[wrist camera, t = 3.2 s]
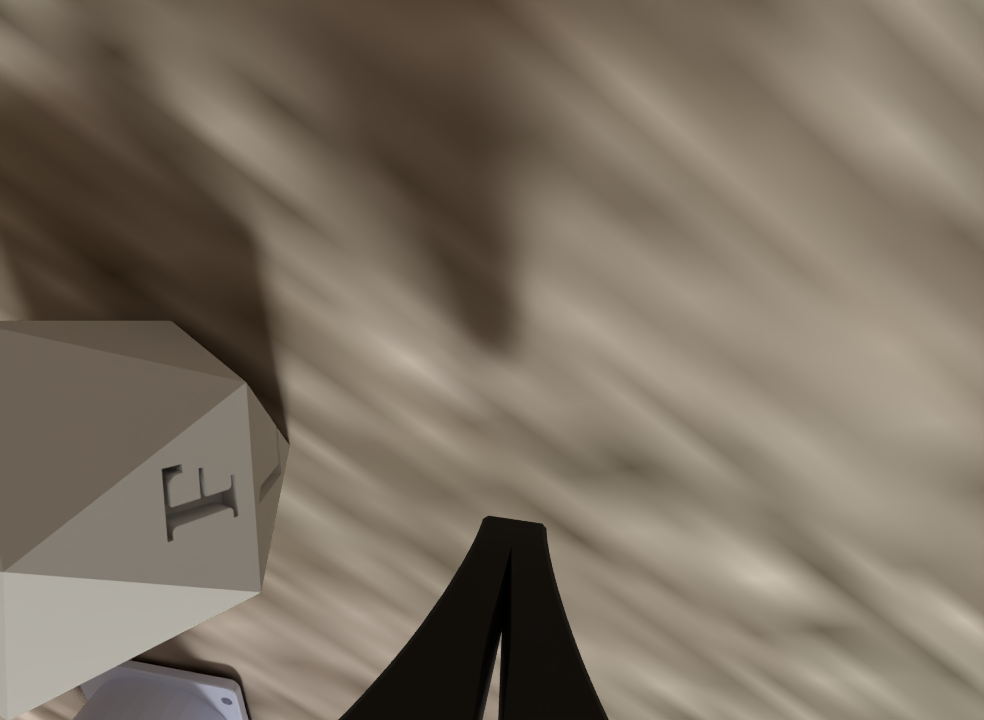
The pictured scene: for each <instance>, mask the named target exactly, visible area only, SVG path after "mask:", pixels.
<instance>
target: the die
mask: <svg viewBox="0 0 984 720" xmlns="http://www.w3.org/2000/svg"><path fill="white" fill-rule="evenodd" d="M288 451H289V444H288V443H287V441H286V440H285V438H284V437H283V435H282V434H281V432H280V431H279V430H278V428H277V427H276V425H275V424H274V422H273V421H272V419H271V418H270V416H269V415H268V413H267V412H266V411H265V409H264V408H263V406H262V405H261V403H260V402H259V400H258V399H257V397H256V396H255V394H254V393H253V392H252V390H251V389H250V387H249V386H248V384H247V383H246V382H245V381H244V380H243V379H242V378H240V377H239V376H238V375H237V374H235V373H234V372H233V371H232V370H231V369H229V368H228V367H227V366H226V365H225V364H223V363H222V362H221V361H220V360H218V359H217V358H216V357H215V356H214V355H212V354H211V353H210V352H209V351H207V350H206V349H205V348H204V347H203V346H201V345H200V344H199V343H198V342H196V341H195V340H194V339H193V338H192V337H190V336H189V335H188V334H187V333H186V332H184V331H183V330H182V329H181V328H179V327H178V326H177V325H176V324H175V323H173V322H172V321H0V717H2V718H3V719H5V720H12V719H14V718H16V717H18V716H20V715H21V714H23V713H25V712H27V711H29V710H31V709H33V708H35V707H37V706H39V705H41V704H43V703H45V702H47V701H49V700H51V699H53V698H55V697H57V696H59V695H61V694H63V693H65V692H67V691H69V690H71V689H72V688H74V687H76V686H78V685H80V684H82V683H84V682H86V681H88V680H90V679H92V678H94V677H96V676H98V675H100V674H102V673H104V672H106V671H108V670H110V669H112V668H114V667H116V666H118V665H120V664H121V663H123V662H125V661H127V660H129V659H131V658H133V657H135V656H137V655H139V654H141V653H143V652H145V651H147V650H149V649H151V648H153V647H155V646H157V645H159V644H161V643H163V642H165V641H167V640H169V639H170V638H172V637H174V636H176V635H178V634H180V633H182V632H184V631H186V630H188V629H190V628H192V627H194V626H196V625H198V624H200V623H202V622H204V621H206V620H208V619H210V618H212V617H214V616H216V615H218V614H220V613H221V612H223V611H225V610H227V609H229V608H231V607H233V606H235V605H237V604H239V603H241V602H243V601H245V600H247V599H249V598H251V597H253V596H255V595H257V594H259V593H261V590H262V584H263V579H264V574H265V569H266V564H267V559H268V554H269V549H270V543H271V538H272V533H273V528H274V523H275V518H276V513H277V508H278V502H279V497H280V492H281V487H282V482H283V477H284V472H285V467H286V462H287V456H288Z"/></svg>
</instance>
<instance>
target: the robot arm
mask: <svg viewBox="0 0 984 720" xmlns="http://www.w3.org/2000/svg"><path fill="white" fill-rule="evenodd" d="M501 632H502V640H501V665H500V691H499V716H498V720H609V719H608V717H607V715H606V713H605V711H604V709H603V707H602V705H601V702H600V700H599V698H598V696H597V693H596V691H595V689H594V687H593V684H592V682H591V680H590V677H589V675H588V673H587V670H586V668H585V665H584V663H583V660H582V658H581V655H580V653H579V650H578V647H577V645H576V642H575V639H574V637H573V634H572V631H571V628H570V625H569V622H568V619H567V617H566V613H565V610H564V607H563V604H562V600H561V597H560V594H559V591H558V587H557V583H556V580H555V576H554V572H553V568H552V563H551V559H550V554H549V548H548V542H547V532H546V528H545V526H544V525H543V524H541V523H534V522H528V521H521V520H514V519H507V518H501V517H494V516H487V517H485V518H484V519H483V521H482V524H481V526H480V529H479V531H478V533H477V536H476V538H475V540H474V542H473V544H472V546H471V548H470V550H469V551H468V553H467V555H466V557H465V559H464V561H463V562H462V564H461V566H460V567H459V569H458V571H457V572H456V574H455V575H454V577H453V579H452V580H451V582H450V584H449V585H448V587H447V588H446V590H445V592H444V593H443V595H442V596H441V597H440V599H439V600H438V602H437V603H436V605H435V606H434V607H433V609H432V610H431V612H430V613H429V614H428V616H427V617H426V619H425V620H424V622H423V623H422V624H421V626H420V627H419V628H418V630H417V631H416V632H415V634H414V635H413V636H412V637H411V639H410V640H409V641H408V643H407V644H406V645H405V646H404V648H403V649H402V650H401V651H400V652H399V654H398V655H397V656H396V657H395V658H394V660H393V661H392V662H391V663H390V664H389V666H388V667H387V668H386V669H385V670H384V671H383V672H382V674H381V675H380V676H379V677H378V678H377V679H376V680H375V681H374V683H373V684H372V685H371V686H370V687H369V688H368V689H367V690H366V691H365V693H364V694H363V695H362V696H361V697H360V698H359V699H358V700H357V701H356V702H355V703H354V704H353V705H352V706H351V707H350V708H349V710H348V711H347V712H346V713H345V714H344V715H343V716H342V717H340V718H339V719H338V720H482V719H483V715H484V710H485V705H486V701H487V696H488V692H489V687H490V683H491V678H492V673H493V669H494V664H495V660H496V655H497V650H498V646H499V641H500V636H501ZM80 687H81V689H82V691H83V693H84V695H85V697H86V699H87V703H86V704H85V705H84V706H83V708H82V709H81V710H80V711H79V713H78V714H77V715H76V716H75V717H74V719H73V720H248V716H247V713H246V709H245V705H244V701H243V697H242V693H241V689H240V686H239V684H238V683H236V682H235V681H233V680H231V679H227V678H221V677H216V676H211V675H205V674H200V673H195V672H190V671H184V670H179V669H174V668H168V667H163V666H158V665H152V664H147V663H142V662H137V661H131V660H127V661H125V662H123V663H121V664H120V665H118V666H116V667H114V668H112V669H110V670H108V671H106V672H104V673H102V674H100V675H98V676H96V677H94V678H92V679H90V680H88V681H86V682H84V683H82V684H80Z"/></svg>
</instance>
